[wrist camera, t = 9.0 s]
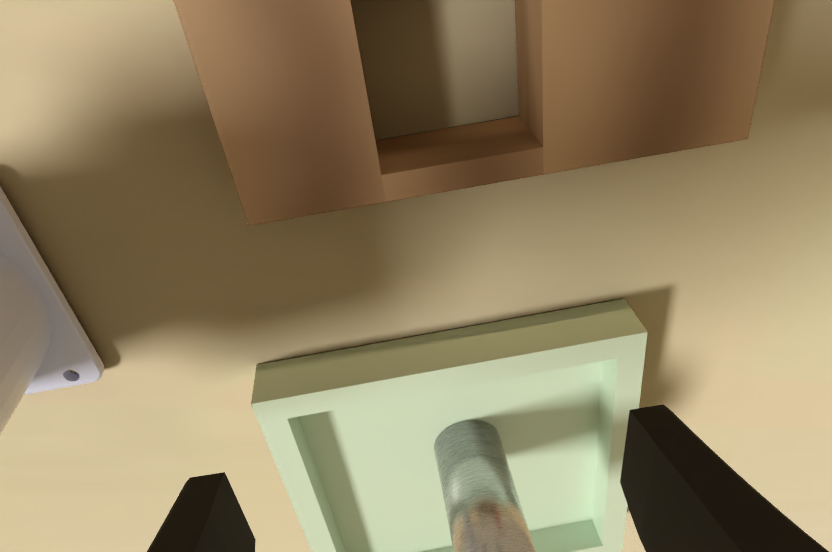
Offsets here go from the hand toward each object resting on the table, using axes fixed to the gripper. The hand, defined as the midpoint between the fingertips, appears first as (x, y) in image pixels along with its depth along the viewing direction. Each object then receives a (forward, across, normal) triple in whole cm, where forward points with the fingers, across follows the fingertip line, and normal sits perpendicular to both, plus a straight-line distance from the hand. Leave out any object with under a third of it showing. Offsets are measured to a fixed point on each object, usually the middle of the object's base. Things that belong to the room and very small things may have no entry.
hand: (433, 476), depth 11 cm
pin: (+10, -2, +11) cm, 15 cm away
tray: (+10, -1, +12) cm, 16 cm away
